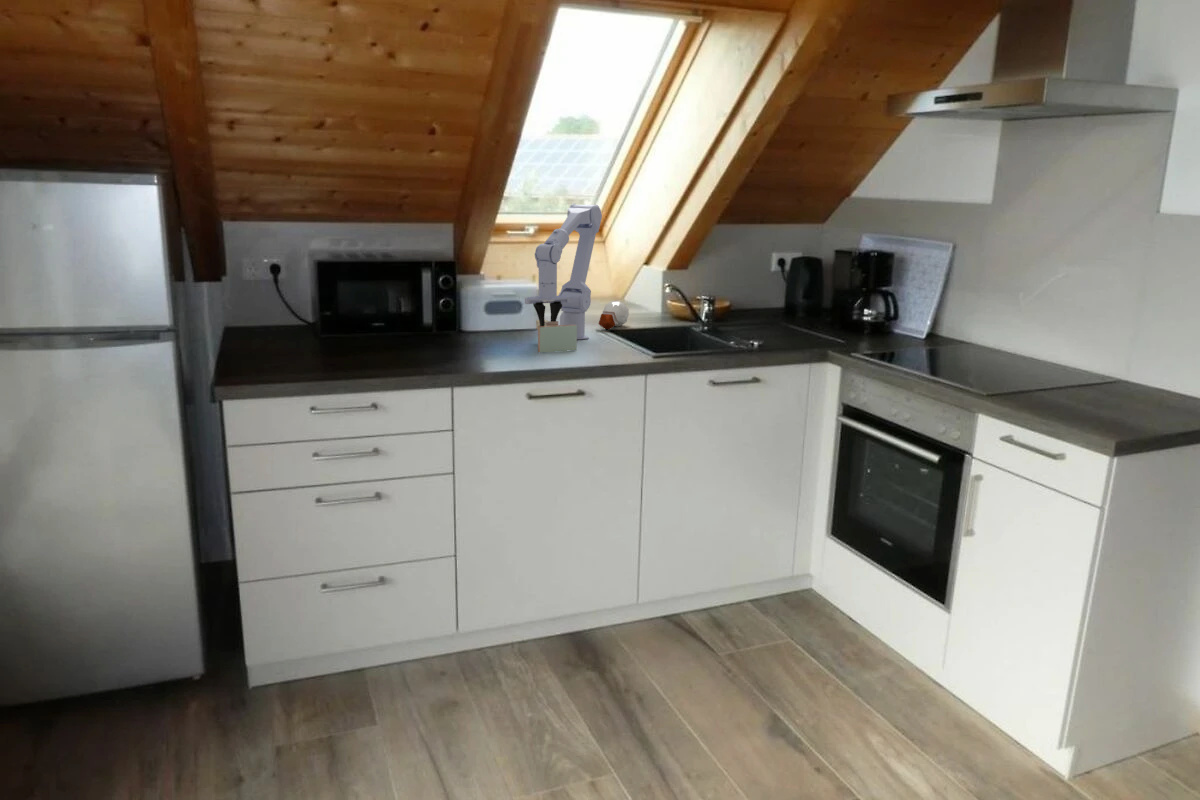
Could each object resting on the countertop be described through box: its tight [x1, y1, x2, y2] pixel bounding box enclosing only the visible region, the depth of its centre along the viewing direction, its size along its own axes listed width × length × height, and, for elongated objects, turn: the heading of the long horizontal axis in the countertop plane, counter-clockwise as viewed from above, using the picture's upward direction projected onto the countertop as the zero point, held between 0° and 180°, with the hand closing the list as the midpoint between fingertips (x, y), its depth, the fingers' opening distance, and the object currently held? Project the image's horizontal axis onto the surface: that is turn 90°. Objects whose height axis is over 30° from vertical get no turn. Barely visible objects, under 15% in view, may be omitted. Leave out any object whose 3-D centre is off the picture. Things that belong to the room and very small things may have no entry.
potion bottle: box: [598, 300, 630, 330], centre depth 313 cm, size 9×10×15 cm
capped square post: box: [535, 319, 559, 331], centre depth 279 cm, size 11×4×4 cm, turn 23°
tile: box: [537, 324, 578, 353], centre depth 271 cm, size 2×12×8 cm, turn 113°
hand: (547, 325), depth 278 cm, fingers closed on capped square post, 3 cm apart
